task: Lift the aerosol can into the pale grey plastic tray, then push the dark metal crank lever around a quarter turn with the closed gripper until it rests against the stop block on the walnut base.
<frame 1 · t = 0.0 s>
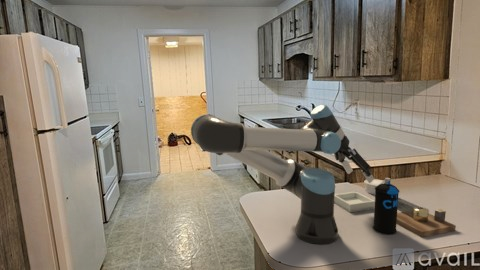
hand: (360, 176, 132), 15 cm above the countertop, tool tilted 35°, fingers open, 13 cm apart
ramekin: (375, 192, 156), on the countertop
aerosol can: (384, 230, 116), on the countertop
crank lever: (409, 208, 124), point 4 cm above the countertop, hinge at 90.0°
crank base: (420, 224, 119), on the countertop
tray: (352, 205, 140), on the countertop
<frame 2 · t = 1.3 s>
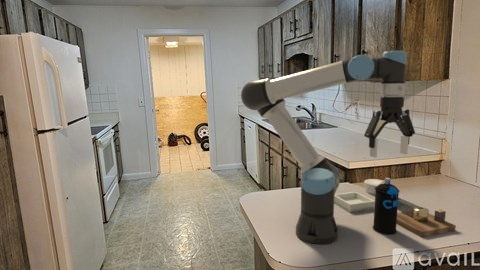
hand: (388, 155, 112), 29 cm above the countertop, tool pointing down, fingers open, 13 cm apart
nothing on the countertop moved.
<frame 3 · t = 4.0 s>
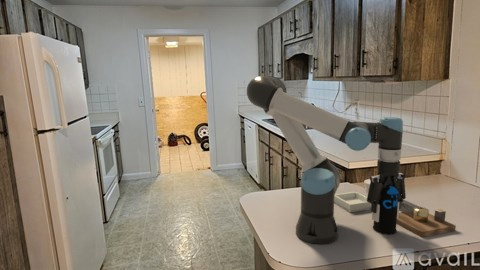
hand: (385, 218, 115), 4 cm above the countertop, tool pointing down, fingers closed on aerosol can, 8 cm apart
aerosol can: (384, 230, 116), on the countertop, touching gripper
everything else where it was.
when the fingers open (7 cm above the countertop, at t = 10.5 s): aerosol can drops 1 cm, resting on tray.
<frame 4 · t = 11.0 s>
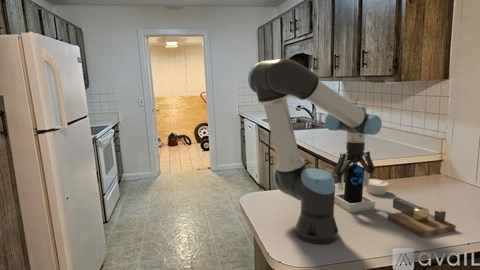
hand: (353, 187, 138), 8 cm above the countertop, tool pointing down, fingers open, 13 cm apart
aerosol can: (352, 203, 139), point 1 cm above the countertop, touching tray
everything else where it was.
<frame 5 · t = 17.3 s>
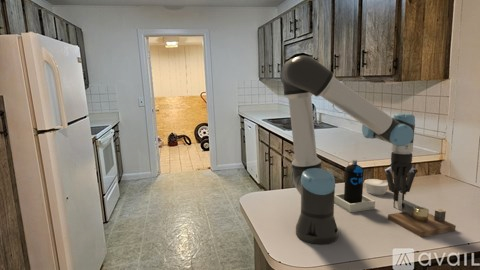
hand: (398, 208, 127), 4 cm above the countertop, tool pointing down, fingers closed
crank lever: (409, 208, 124), point 4 cm above the countertop, hinge at 88.4°, touching gripper
everything else where it was.
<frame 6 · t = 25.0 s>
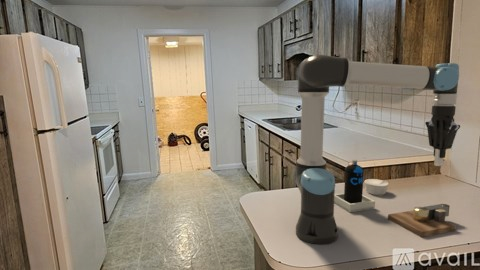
hand: (438, 165, 120), 22 cm above the countertop, tool pointing down, fingers closed
crank lever: (431, 212, 120), point 4 cm above the countertop, hinge at 0.3°
everything else where it was.
at the end: aerosol can 0.1 cm off-centre on the tray, point 0.8 cm above the tray's base; aerosol can tilted 0°; crank lever at +0° (first picture: +90°) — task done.
